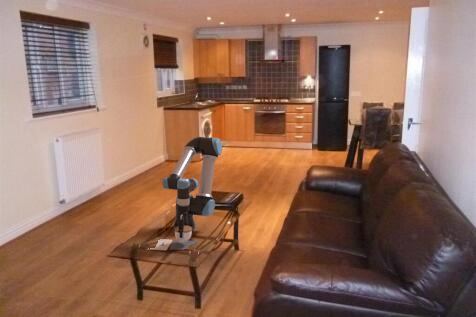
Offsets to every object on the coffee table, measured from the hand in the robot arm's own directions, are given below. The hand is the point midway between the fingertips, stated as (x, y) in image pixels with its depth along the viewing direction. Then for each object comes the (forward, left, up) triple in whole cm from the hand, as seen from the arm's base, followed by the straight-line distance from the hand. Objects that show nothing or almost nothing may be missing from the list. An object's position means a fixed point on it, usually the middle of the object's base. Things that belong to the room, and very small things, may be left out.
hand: (183, 239), depth 255 cm
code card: (0, -15, -4) cm, 16 cm away
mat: (0, 0, -4) cm, 4 cm away
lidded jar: (0, 0, -1) cm, 1 cm away
